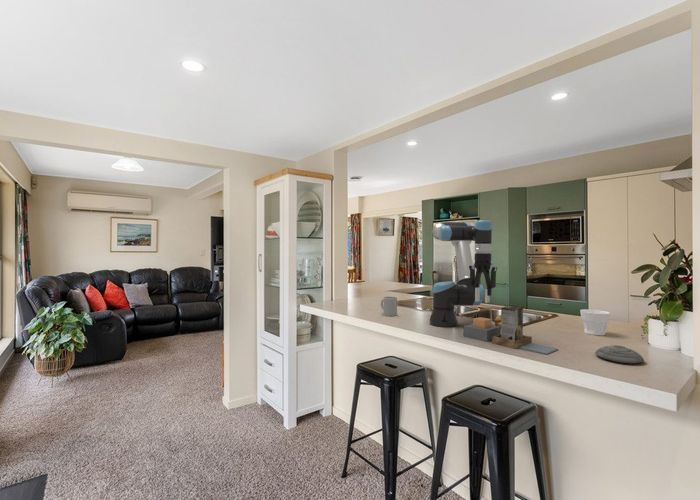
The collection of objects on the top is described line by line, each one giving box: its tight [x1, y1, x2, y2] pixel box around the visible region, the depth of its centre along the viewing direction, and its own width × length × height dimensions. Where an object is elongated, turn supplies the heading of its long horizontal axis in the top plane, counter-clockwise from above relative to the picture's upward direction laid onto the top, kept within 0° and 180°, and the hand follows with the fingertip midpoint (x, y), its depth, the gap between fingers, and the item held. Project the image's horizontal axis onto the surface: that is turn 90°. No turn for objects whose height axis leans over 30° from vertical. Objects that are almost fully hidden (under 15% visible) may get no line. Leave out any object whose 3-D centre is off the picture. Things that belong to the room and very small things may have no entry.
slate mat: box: [518, 342, 559, 356], centre depth 150 cm, size 11×11×1 cm
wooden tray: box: [491, 334, 533, 350], centre depth 159 cm, size 11×14×3 cm
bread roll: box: [494, 314, 501, 327], centre depth 190 cm, size 13×10×8 cm
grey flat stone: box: [594, 344, 645, 364], centre depth 138 cm, size 15×15×6 cm
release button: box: [472, 317, 492, 328], centre depth 170 cm, size 6×6×5 cm
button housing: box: [463, 323, 501, 342], centre depth 170 cm, size 12×12×5 cm
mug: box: [380, 296, 398, 317], centre depth 224 cm, size 12×8×11 cm
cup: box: [579, 308, 611, 336], centre depth 178 cm, size 12×12×11 cm
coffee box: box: [500, 305, 524, 341], centre depth 159 cm, size 9×6×16 cm
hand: (482, 301), depth 170 cm, fingers open, 4 cm apart
